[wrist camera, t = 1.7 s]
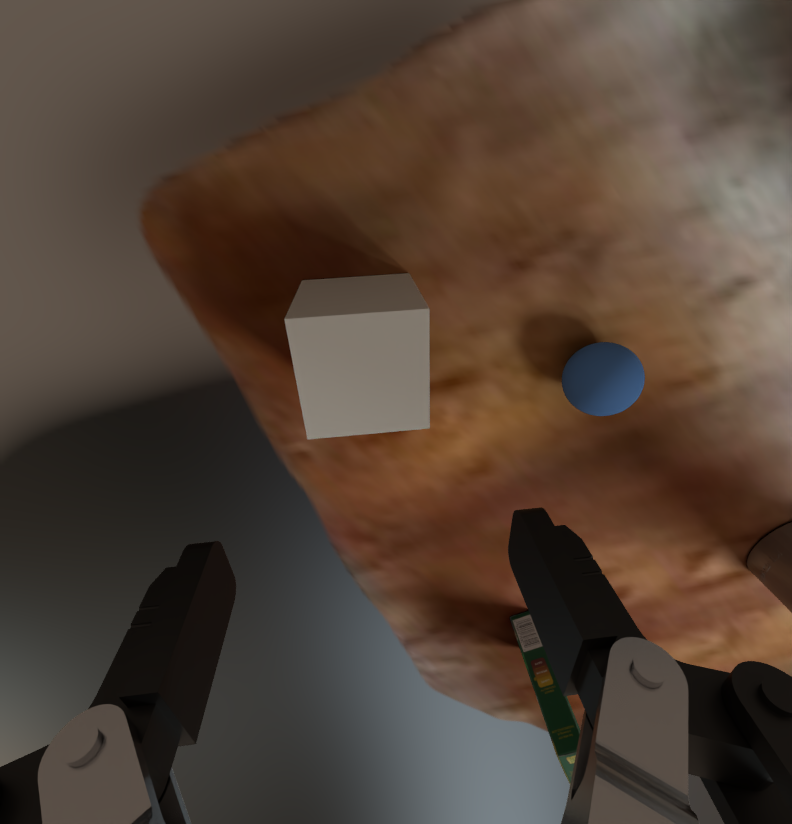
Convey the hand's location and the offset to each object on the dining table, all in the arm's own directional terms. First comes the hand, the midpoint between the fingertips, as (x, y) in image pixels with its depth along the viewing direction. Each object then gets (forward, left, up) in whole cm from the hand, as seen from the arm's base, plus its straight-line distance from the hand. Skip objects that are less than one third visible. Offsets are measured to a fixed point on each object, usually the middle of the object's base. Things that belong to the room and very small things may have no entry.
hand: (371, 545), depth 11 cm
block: (0, 0, -18) cm, 18 cm away
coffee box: (-16, +38, -18) cm, 45 cm away
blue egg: (-16, +4, -15) cm, 23 cm away
